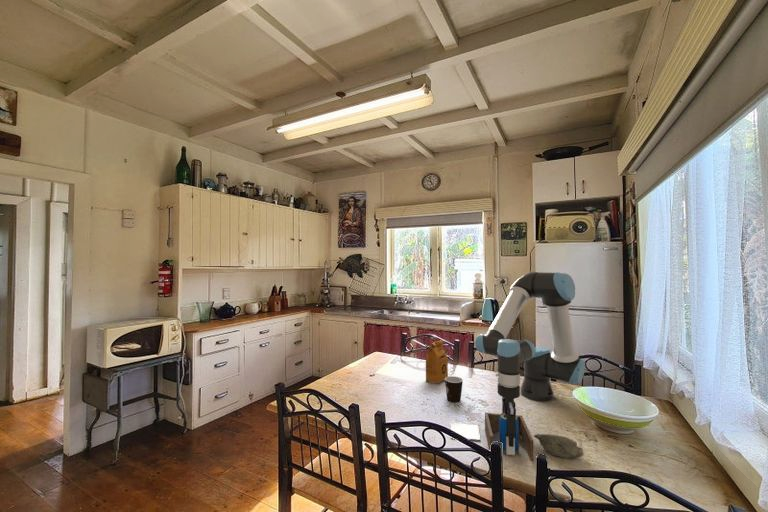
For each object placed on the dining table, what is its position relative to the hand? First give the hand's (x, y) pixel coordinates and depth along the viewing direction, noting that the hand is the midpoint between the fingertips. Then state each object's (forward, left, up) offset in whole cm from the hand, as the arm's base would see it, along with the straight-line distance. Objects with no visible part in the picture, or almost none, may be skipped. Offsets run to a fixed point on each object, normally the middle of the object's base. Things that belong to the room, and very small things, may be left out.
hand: (508, 448), depth 118 cm
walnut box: (0, -3, 0) cm, 3 cm away
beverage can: (0, 0, -1) cm, 1 cm away
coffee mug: (+19, -40, -1) cm, 44 cm away
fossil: (-17, -2, -1) cm, 17 cm away
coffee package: (+28, -63, -1) cm, 69 cm away
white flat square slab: (+15, -9, 0) cm, 17 cm away
